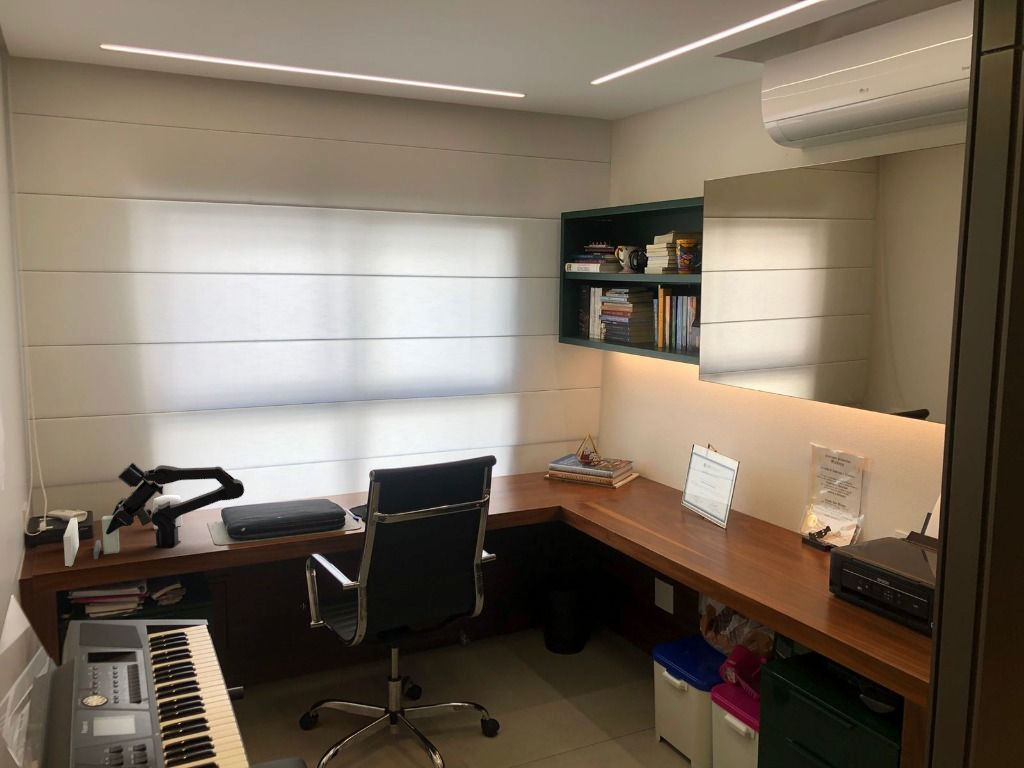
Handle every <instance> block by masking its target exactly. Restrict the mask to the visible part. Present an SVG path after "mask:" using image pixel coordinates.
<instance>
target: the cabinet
mask: <svg viewBox="0 0 1024 768" xmlns="http://www.w3.org/2000/svg"><path fill="white" fill-rule="evenodd" d="M113 516H114V515H113ZM113 516H112V515H105V516H102V518H101V527H102V546H103V555H108V554H119V553H120V535H119V534H120V533H119V528H118V529H117V530H115V531H113V532H112V533H110V534H109V535H107V534H106V531H107V529H108V527H109V524H110V522H111V520H112V518H113Z"/></svg>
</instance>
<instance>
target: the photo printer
mask: <svg viewBox="0 0 1024 768" xmlns="http://www.w3.org/2000/svg"><path fill="white" fill-rule="evenodd" d="M168 501H170V504H171V505H172V504H179V503H181V502H183V501H182V498H181V496H180V495H176V494H165V495H160V496H157V497H155V498H153V501H152V512H153V511H154V509H155V508H157V507H158V505H162V504H165V503H166V502H168ZM152 524H153V523H152ZM177 526H178V527H182V526H183V515H181V516H179V517H178V518H176V527H177ZM153 529H154V530H157V529H158V527H157V526H155V525H154V524H153Z"/></svg>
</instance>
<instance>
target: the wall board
mask: <svg viewBox="0 0 1024 768" xmlns="http://www.w3.org/2000/svg"><path fill="white" fill-rule="evenodd" d="M78 525H79V524H78V517H70V519H69V522H68V524H67V528H66V529H65V533H63V548H64V549H63V550H64V565H65V566H69V567H73V566H72V565H74V562H75V558H76V556H77V552H78V549H79V546H80V542H79V540H80V539H79V529H78V528H79V527H78ZM101 544H102V543H101V539H98V540H97V539H96V540H95V544H94V548H93V560H98V559H99V555H100V553H101V552H100V550H101Z"/></svg>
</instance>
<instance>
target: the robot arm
mask: <svg viewBox="0 0 1024 768" xmlns="http://www.w3.org/2000/svg"><path fill="white" fill-rule="evenodd" d="M117 479H119V480H121V481H122V483H124V484H125V485H126V486H128V487H129V488H134V487H135V488H136V487H137V488H136V489H135V490H133V491H131V492H130V495H129V496H127V498H126V497H122V498H121V499H119V501H117V503H116V504H115V507H114V510H113V512H112V514H111V516H113V515H114V516H113V518H112V520H111V522H110V524H109V527H108V529H107V531H106V534H107V535H109V534H110V533H112V532H113V531H115V530H117V529H118V530H119V529H120V528H122V527H129V526H130V527H131V526H132V524H134V523H135V518H136V517H137V518H138V520H139V521H140V525H141V526H142V527H144V526H147V525H148V524H150V523H152V524H154V525H155V526H157V527H158V529H156V532H155V546H154V547H155V548H175V547H176V546H177V545H179V544H181V542H182V541H181V540H180V539H179V526H178V527H176V518H178V517H179V516H181V515H182V516H183V515H186V514H188V513H191V512H193V511H196V510H199V509H201V508H205V507H207V506H210V505H213V504H215V503H218V502H221V501H231V500H236V499H239V498H242V496H243V495H244V493H245V486H244V483H243V482H242V481H241V479H238V478H234V477H233V476H232V475H231V474H230V473H228V472H227V471H226V470H224V468H223V467H222V466H217V465H216V466H208V467H205V466H204V467H176V466H171V465H164V464H163V465H157V466H156V467H155V468H154V469H153V468H152V469H149V470H148V469H147V470H145V471H144V470H142V469H141V468H140V467H138V466H137V464H135V462H131V463H130V464H129V465H128V466H126V467H125V468H123V470H122V471H121V472H120V473H119V475H118V476H117ZM189 480H191V481H193V480H195V481H196V480H216V481H217V482H218V483H219V484H220V485H221V486H219V487H218V488H216V489H214V490H212V491H208V492H206V493H203V494H200V495H198V496H195V497H193V498H190V499H187V500H184V501H182V502H181V503H179V504H172V505H171V504H170V501H168V502H166V503H165V504H162V505H158V507H157V508H155V509H154V511H153V510H152V509H150V508H146V506H147V503H148V501H150V499H152V498H153V497H154V496H155V495H156V493H158V494H159V495H160V496H163V494H164V485H167V484H172V483H175V482H179V481H189Z"/></svg>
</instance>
